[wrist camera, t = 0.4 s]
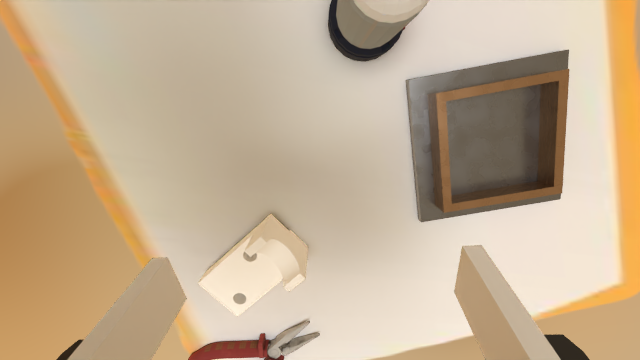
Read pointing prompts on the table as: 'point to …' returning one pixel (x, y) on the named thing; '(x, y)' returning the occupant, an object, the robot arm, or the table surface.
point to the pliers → (256, 346)
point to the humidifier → (369, 25)
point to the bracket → (257, 266)
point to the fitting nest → (489, 136)
